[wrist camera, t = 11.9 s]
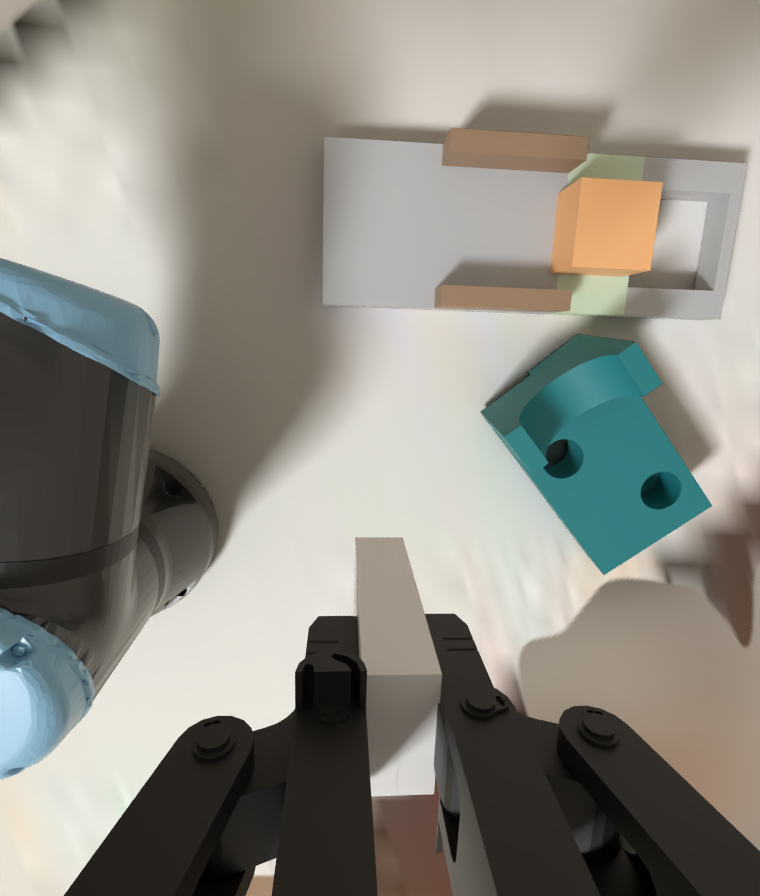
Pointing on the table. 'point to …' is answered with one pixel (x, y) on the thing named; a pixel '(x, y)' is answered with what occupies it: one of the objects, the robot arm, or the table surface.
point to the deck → (500, 225)
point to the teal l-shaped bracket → (599, 448)
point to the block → (605, 227)
